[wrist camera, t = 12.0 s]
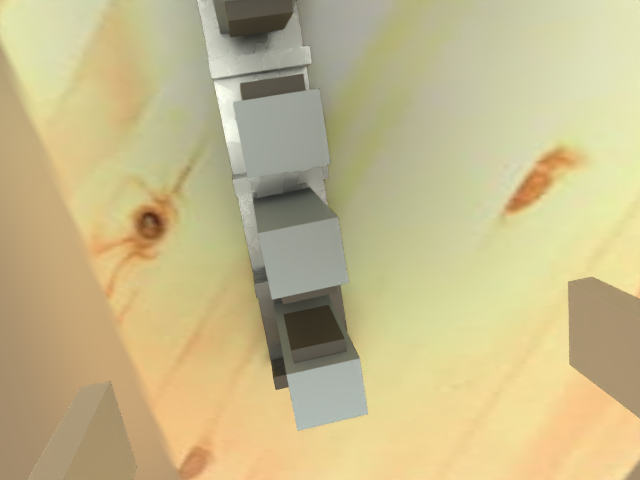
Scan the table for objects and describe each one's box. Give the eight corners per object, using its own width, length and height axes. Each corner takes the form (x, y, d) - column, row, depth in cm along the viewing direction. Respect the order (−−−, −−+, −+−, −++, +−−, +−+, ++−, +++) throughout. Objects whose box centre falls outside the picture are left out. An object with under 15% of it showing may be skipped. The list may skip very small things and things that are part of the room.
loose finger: (252, 198, 33) (258, 233, 24) (310, 187, 34) (338, 217, 24) (264, 258, 34) (275, 314, 25) (320, 246, 35) (351, 296, 25)
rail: (187, -52, 30) (179, -76, 26) (282, -64, 31) (288, -89, 27) (272, 362, 38) (275, 389, 34) (346, 345, 39) (358, 371, 35)
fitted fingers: (208, -28, 29) (193, -96, 20) (274, -37, 30) (290, -107, 20) (282, 347, 36) (297, 430, 27) (334, 335, 37) (368, 414, 27)
